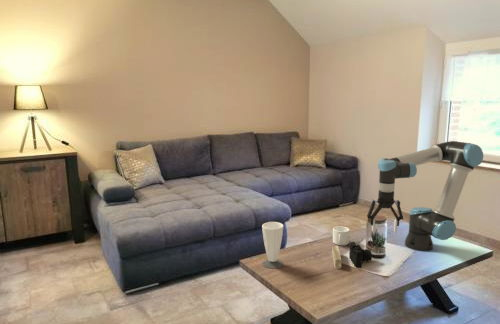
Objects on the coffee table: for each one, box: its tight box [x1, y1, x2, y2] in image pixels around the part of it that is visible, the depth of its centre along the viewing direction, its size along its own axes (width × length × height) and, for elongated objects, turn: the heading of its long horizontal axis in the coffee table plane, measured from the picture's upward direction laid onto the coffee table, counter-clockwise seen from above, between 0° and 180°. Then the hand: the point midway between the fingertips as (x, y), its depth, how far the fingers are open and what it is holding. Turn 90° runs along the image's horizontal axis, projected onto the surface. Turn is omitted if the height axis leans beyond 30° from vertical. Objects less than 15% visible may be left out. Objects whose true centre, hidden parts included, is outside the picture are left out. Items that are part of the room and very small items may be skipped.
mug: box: [332, 225, 351, 247], centre depth 223 cm, size 12×10×9 cm
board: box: [331, 245, 342, 270], centre depth 201 cm, size 3×18×5 cm, turn 172°
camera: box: [348, 241, 373, 269], centre depth 199 cm, size 14×11×10 cm
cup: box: [261, 221, 284, 269], centre depth 197 cm, size 12×12×22 cm
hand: (384, 231), depth 195 cm, fingers open, 10 cm apart
